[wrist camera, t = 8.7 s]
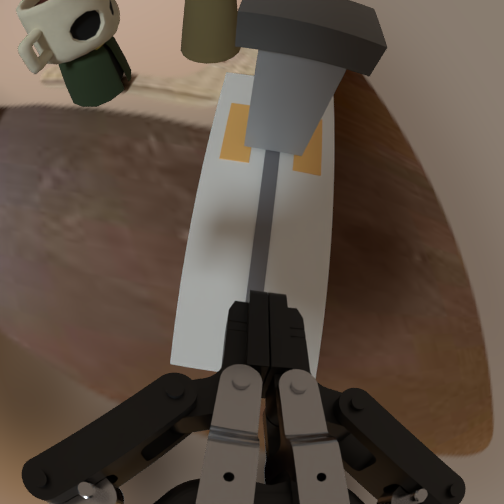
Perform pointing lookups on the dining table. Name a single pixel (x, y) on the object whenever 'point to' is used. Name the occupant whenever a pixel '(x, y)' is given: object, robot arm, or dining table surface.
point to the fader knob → (302, 63)
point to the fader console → (255, 231)
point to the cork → (209, 30)
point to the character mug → (76, 46)
